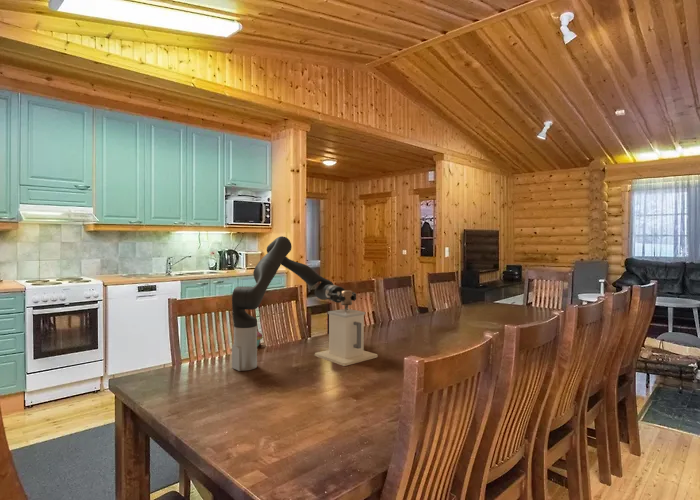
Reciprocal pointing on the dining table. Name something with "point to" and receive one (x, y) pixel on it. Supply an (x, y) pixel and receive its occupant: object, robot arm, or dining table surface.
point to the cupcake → (259, 337)
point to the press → (346, 338)
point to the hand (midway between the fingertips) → (348, 298)
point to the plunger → (346, 299)
